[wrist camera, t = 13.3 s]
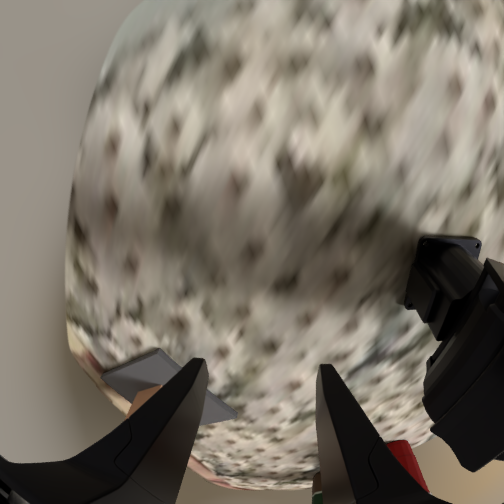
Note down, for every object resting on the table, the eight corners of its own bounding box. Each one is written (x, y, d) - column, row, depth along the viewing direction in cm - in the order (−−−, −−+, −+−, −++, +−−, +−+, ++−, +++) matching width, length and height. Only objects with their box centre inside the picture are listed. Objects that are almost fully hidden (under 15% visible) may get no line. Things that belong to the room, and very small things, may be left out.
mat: (159, 348, 26) (157, 353, 26) (237, 412, 30) (236, 418, 30) (102, 373, 31) (100, 377, 30) (170, 426, 35) (168, 430, 34)
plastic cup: (359, 443, 33) (363, 511, 22) (425, 425, 30) (439, 489, 19) (360, 464, 37) (363, 518, 26) (416, 449, 34) (425, 502, 23)
